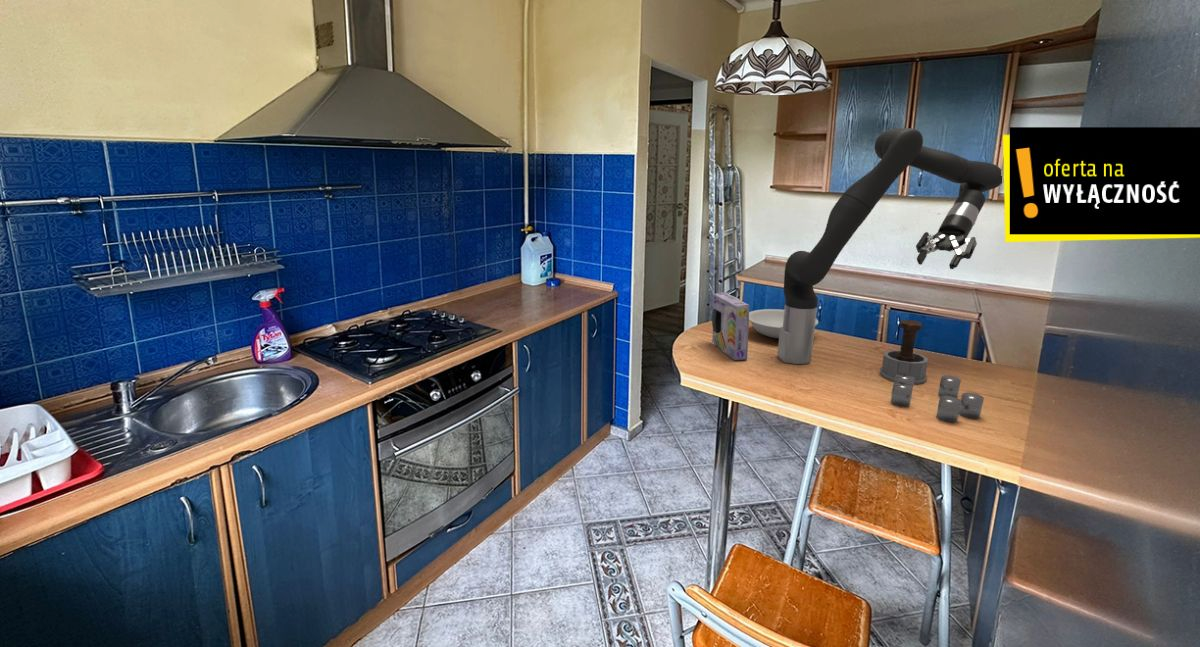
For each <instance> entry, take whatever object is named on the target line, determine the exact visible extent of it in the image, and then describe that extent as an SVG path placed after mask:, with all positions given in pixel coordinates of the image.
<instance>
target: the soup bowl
mask: <svg viewBox="0 0 1200 647" xmlns="http://www.w3.org/2000/svg"><path fill="white" fill-rule="evenodd" d="M783 318H784V309H779V308H778V309H776V308H774V309H773V308H768V309H767V308H766V309H765V308H764V309H756V310H752V311H749V322H750V324H751V325H752V327H753V328H754V329H755V331H757V332H758V333H760V334H761V335H763V336H765V337H769V338H772V339H773V338H774V339H779V335H780V327H783ZM818 324H819V320H818V318H816V322H815V327H816V326H817V325H818Z"/></svg>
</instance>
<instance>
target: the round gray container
mask: <svg viewBox="0 0 1200 647" xmlns="http://www.w3.org/2000/svg"><path fill="white" fill-rule="evenodd" d="M900 351H901V349H890V350H886V351H884V352H883V357H882V358H883V359H882V364H881V367H880V368H879V372H878V373H879V374H878V375H879V376H880V377H882V378H883V379H886V380H888V381H890V380H891V381H892V382H893V383H895V377H896V374H899V373H903V374H909V375H912V376H914V378H915V379H914V385H921V384H925V383H926V382H927V378H928V376H927V367H928V364H929V358H928V357H927V356H925V355H923V354H920V353H917V352H914V351H913V355H914V356H915V360H914V362H906V361H900V360H897V359H896V357H897V354H898V353H900Z"/></svg>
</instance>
